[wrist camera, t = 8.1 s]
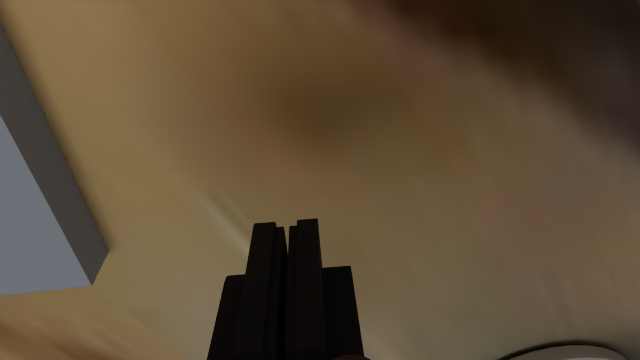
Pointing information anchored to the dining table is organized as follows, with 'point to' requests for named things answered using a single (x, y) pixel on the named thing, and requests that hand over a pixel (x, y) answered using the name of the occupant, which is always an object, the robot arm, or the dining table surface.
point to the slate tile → (38, 197)
